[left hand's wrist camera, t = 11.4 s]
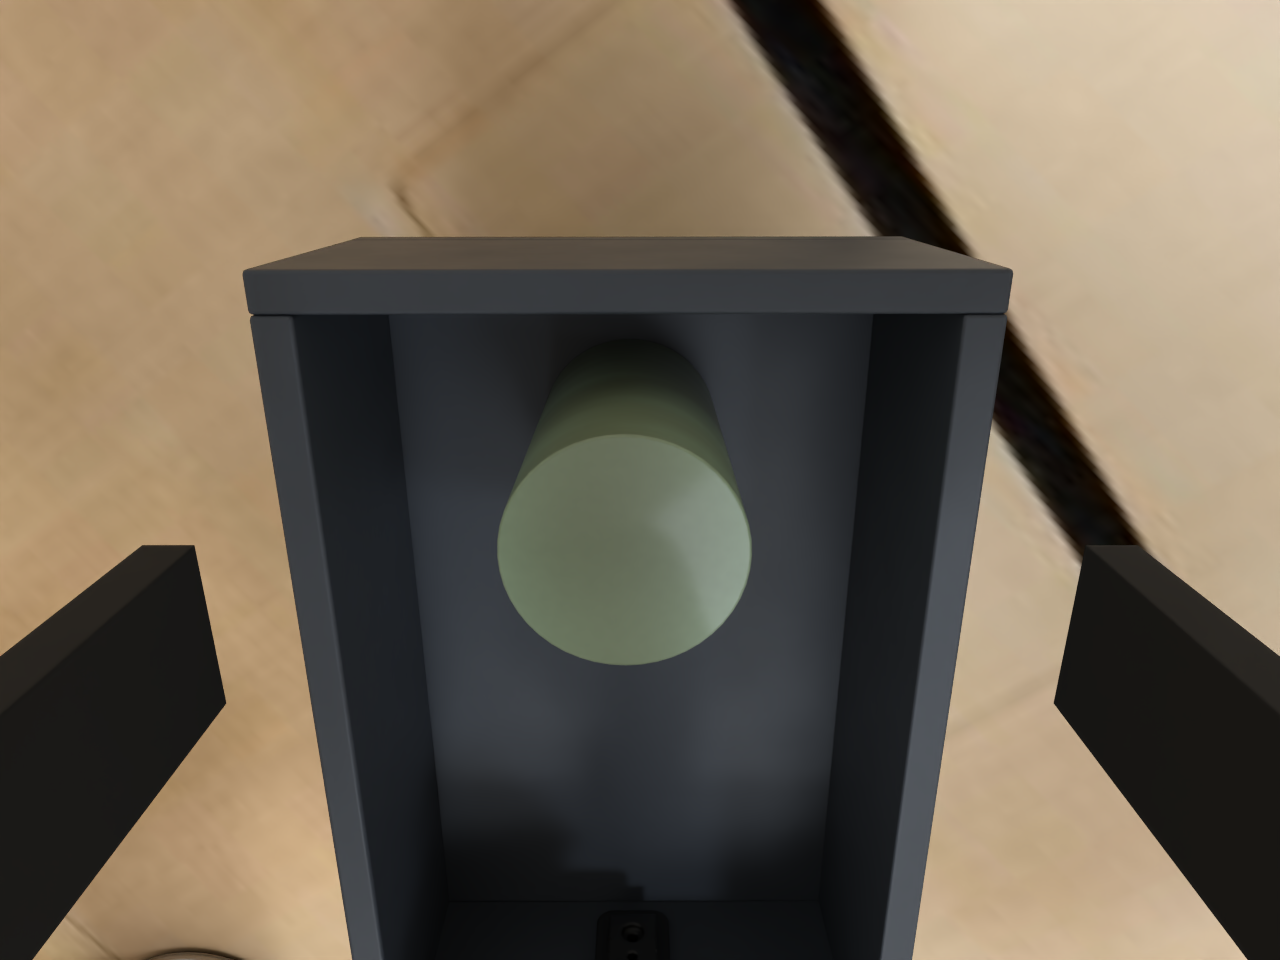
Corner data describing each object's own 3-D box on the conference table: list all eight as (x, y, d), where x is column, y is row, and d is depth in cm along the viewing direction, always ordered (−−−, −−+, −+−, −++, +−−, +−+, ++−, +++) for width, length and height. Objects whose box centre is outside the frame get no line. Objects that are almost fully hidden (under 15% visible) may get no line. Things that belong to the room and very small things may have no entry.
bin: (903, 236, 21) (1016, 268, 15) (835, 898, 29) (890, 1107, 23) (358, 236, 21) (239, 269, 15) (432, 899, 29) (374, 1108, 23)
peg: (717, 338, 21) (757, 433, 14) (712, 501, 23) (747, 666, 16) (540, 339, 21) (487, 435, 14) (548, 501, 23) (504, 667, 16)
